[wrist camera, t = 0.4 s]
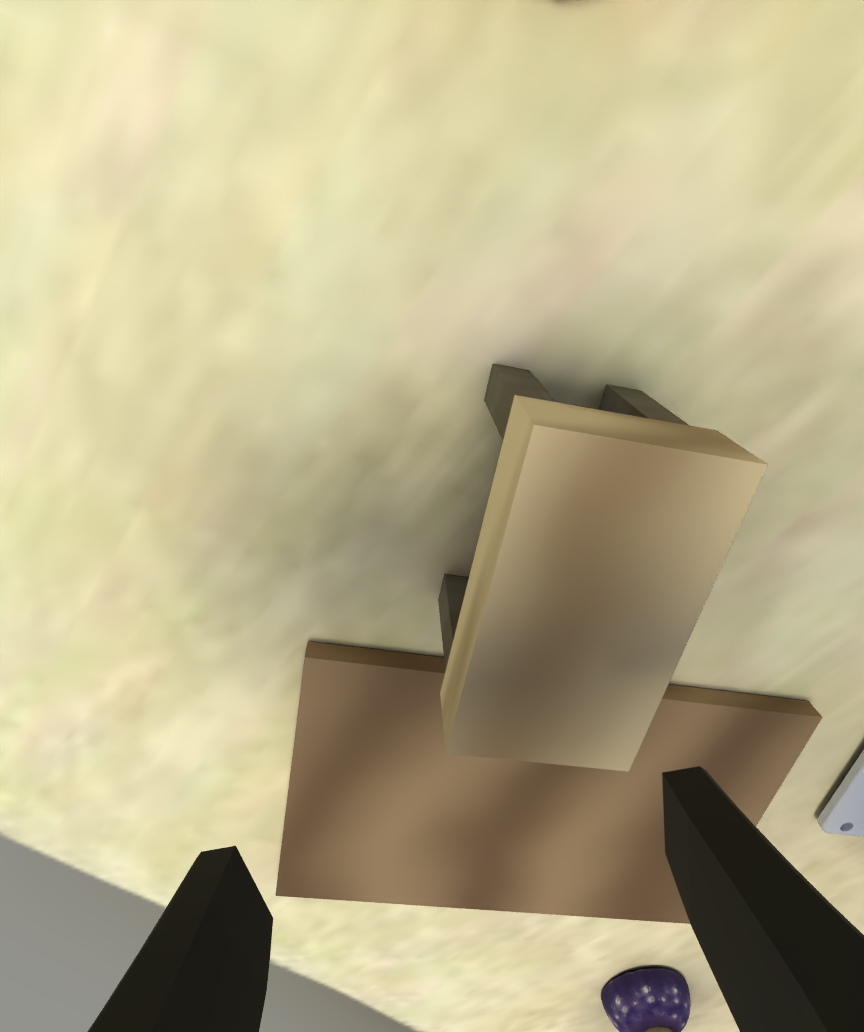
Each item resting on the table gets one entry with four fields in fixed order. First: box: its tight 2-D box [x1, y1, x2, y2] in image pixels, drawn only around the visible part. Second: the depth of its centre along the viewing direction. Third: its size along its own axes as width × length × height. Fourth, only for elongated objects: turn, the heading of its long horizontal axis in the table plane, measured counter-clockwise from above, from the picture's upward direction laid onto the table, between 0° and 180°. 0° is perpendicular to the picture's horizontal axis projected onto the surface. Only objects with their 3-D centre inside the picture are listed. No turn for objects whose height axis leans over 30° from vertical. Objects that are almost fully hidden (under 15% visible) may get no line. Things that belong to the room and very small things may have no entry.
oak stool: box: [438, 364, 768, 772], centre depth 15 cm, size 4×8×6 cm, turn 169°
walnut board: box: [276, 641, 822, 924], centre depth 23 cm, size 18×12×1 cm, turn 79°
